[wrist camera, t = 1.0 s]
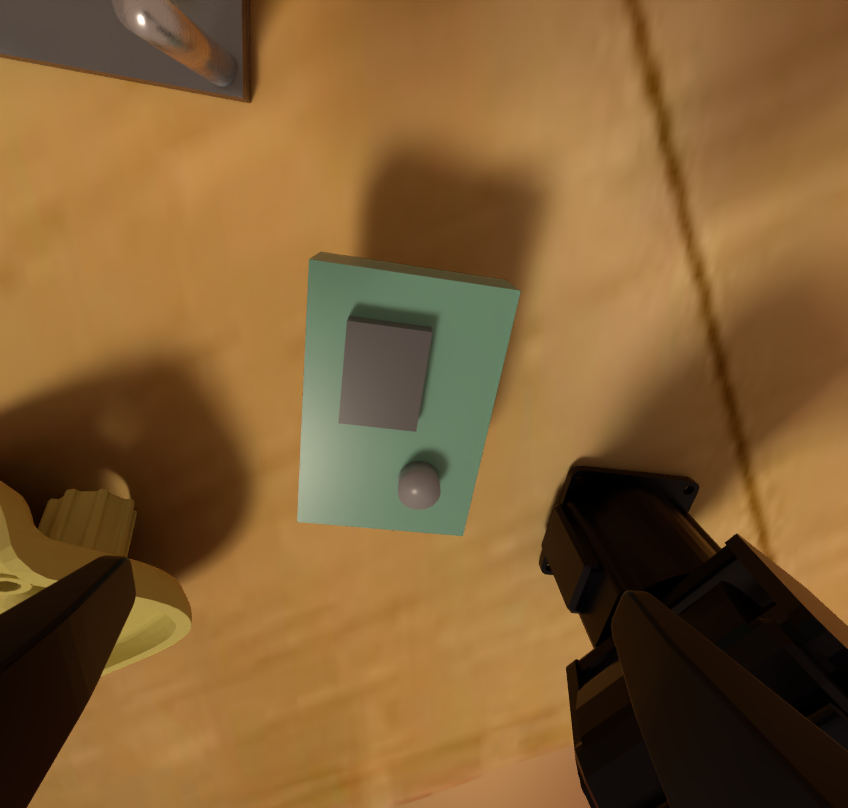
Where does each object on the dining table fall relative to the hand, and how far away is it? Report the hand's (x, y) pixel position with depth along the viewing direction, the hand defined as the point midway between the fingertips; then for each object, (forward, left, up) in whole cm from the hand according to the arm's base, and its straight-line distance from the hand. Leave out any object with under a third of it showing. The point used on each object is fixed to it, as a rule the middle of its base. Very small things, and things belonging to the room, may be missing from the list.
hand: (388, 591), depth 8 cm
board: (0, 0, -9) cm, 9 cm away
